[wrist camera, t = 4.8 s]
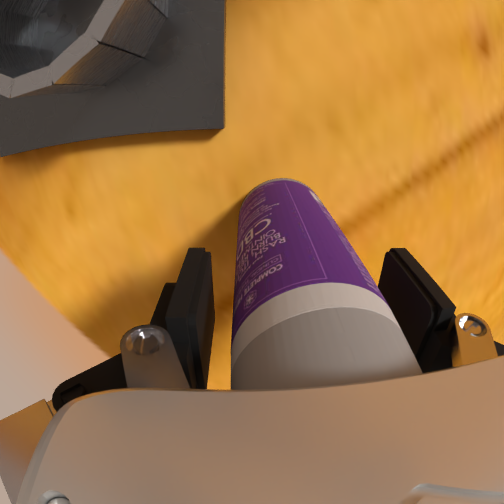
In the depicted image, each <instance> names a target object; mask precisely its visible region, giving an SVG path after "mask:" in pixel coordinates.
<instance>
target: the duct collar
mask: <svg viewBox="0 0 504 504" xmlns="http://www.w3.org/2000/svg"><path fill="white" fill-rule="evenodd" d="M225 27H226V0H0V157H3V156H7V155H11V154H15V153H20V152H24V151H29V150H33V149H38V148H43V147H48V146H54V145H59V144H65V143H71V142H77V141H83V140H90V139H97V138H104V137H112V136H120V135H129V134H139V133H150V132H163V131H177V130H196V129H224V128H225Z"/></svg>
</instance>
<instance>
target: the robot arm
mask: <svg viewBox="0 0 504 504" xmlns="http://www.w3.org/2000/svg"><path fill="white" fill-rule="evenodd" d="M378 289H379V290H380V292H381V294H382V295H383V297H384V299H385V300H386V302H387V304H388V305H389V307H390V309H391V311H392V313H393V315H394V317H395V319H396V320H397V322H398V324H399V326H400V328H401V330H402V332H403V334H404V336H405V338H406V340H407V342H408V344H409V346H410V348H411V350H412V352H413V354H414V356H415V358H416V360H417V362H418V364H419V366H420V368H421V371H422V374H416V375H410V376H404V377H398V378H392V379H385V380H377V381H370V382H362V383H353V384H343V385H333V386H320V387H307V388H289V389H261V390H214V389H207V381H208V372H209V364H210V355H211V347H212V338H213V330H214V322H215V310H214V296H213V282H212V266H211V253H210V252H205V248H189V249H188V252H187V255H186V257H185V260H184V263H183V266H182V269H181V271H180V274H179V277H178V280H177V283H166V284H165V285H164V288H163V290H162V293H161V296H160V298H159V301H158V303H157V306H156V309H155V311H154V314H153V317H152V319H151V322H150V325H149V324H148V325H141V326H137V327H134V328H132V329H131V330H129V331H128V332H127V333H125V334H124V335H123V337H122V339H121V342H120V348H121V353H120V354H118V355H116V356H114V357H112V358H110V359H108V360H106V361H104V362H103V363H100V364H98V365H96V366H94V367H92V368H90V369H88V370H86V371H84V372H82V373H80V374H78V375H76V376H74V377H72V378H70V379H68V380H66V381H64V382H63V383H61V384H60V385H59V386H58V387H57V388H56V389H55V392H54V393H53V397H52V400H50V401H48V402H46V401H45V399H43V400H41V401H39V402H37V403H35V404H33V405H31V406H29V407H27V408H25V409H23V410H21V411H19V412H17V413H15V414H12V415H10V416H8V417H6V418H4V419H2V420H0V476H1V479H2V481H3V484H4V486H5V489H6V491H7V494H8V496H9V498H10V501H11V503H12V504H504V345H502V344H500V343H498V342H496V341H494V340H493V337H492V334H491V330H490V328H489V326H488V324H487V323H486V322H485V321H484V320H483V319H482V318H480V317H478V316H476V315H474V314H470V313H462V314H459V315H458V316H457V317H456V316H455V314H454V311H455V309H456V306H455V305H454V304H453V303H452V301H451V300H450V299H449V298H448V297H447V295H446V294H445V293H444V292H443V290H442V289H441V288H440V287H439V286H438V285H437V283H436V282H435V281H434V280H433V279H432V278H431V276H430V275H429V274H428V273H427V272H426V271H425V269H424V268H423V267H422V266H421V265H420V264H419V263H418V262H417V260H416V259H415V258H414V257H413V256H412V255H411V254H410V253H409V252H408V251H407V249H405V248H391V249H390V251H389V252H386V254H385V257H384V262H383V267H382V271H381V276H380V280H379V284H378Z"/></svg>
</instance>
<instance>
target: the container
mask: <svg viewBox="0 0 504 504" xmlns="http://www.w3.org/2000/svg"><path fill="white" fill-rule="evenodd" d="M416 374H422V371H421V368H420V366H419V364H418V362H417V360H416V358H415V356H414V354H413V352H412V350H411V348H410V346H409V344H408V342H407V340H406V338H405V336H404V334H403V332H402V330H401V328H400V326H399V324H398V322H397V320H396V319H395V317H394V315H393V313H392V311H391V309H390V307H389V305H388V304H387V302H386V300H385V299H384V297H383V295H382V294H381V292H380V290H379V289H378V287H377V285H376V284H375V282H374V280H373V279H372V277H371V276H370V274H369V272H368V271H367V269H366V268H365V266H364V265H363V263H362V261H361V260H360V258H359V257H358V255H357V254H356V252H355V251H354V249H353V248H352V246H351V245H350V243H349V241H348V240H347V238H346V237H345V235H344V234H343V232H342V231H341V230H340V228H339V227H338V225H337V224H336V222H335V221H334V219H333V218H332V216H331V215H330V213H329V212H328V211H327V209H326V208H325V206H324V205H323V203H322V202H321V201H320V199H319V198H318V197H317V195H316V194H315V193H314V192H313V191H312V190H311V189H310V188H309V187H308V186H306V185H305V184H303V183H301V182H299V181H296V180H293V179H287V178H279V179H272V180H269V181H266V182H264V183H262V184H260V185H258V186H257V187H255V188H254V189H253V190H252V191H251V192H250V193H249V194H248V195H247V197H246V198H245V200H244V201H243V203H242V206H241V209H240V214H239V223H238V239H237V254H236V270H235V287H234V304H233V321H232V339H231V390H261V389H289V388H307V387H320V386H333V385H343V384H353V383H362V382H370V381H377V380H385V379H392V378H398V377H404V376H410V375H416Z"/></svg>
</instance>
